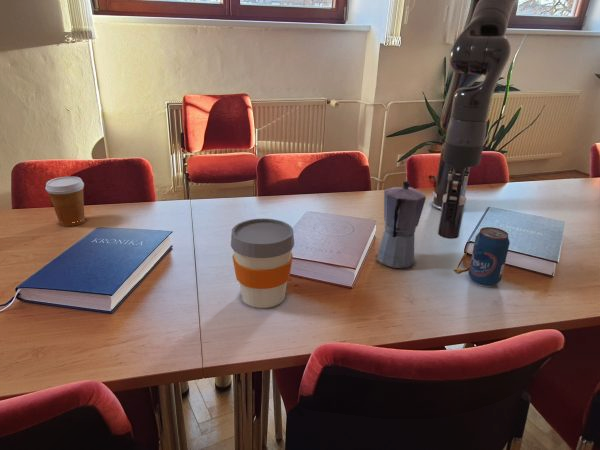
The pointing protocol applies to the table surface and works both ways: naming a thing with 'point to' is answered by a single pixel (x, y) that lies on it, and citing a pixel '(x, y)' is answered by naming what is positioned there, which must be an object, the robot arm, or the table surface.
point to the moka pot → (400, 225)
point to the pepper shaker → (451, 228)
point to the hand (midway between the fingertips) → (451, 216)
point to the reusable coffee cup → (262, 260)
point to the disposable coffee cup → (67, 199)
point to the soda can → (489, 256)
